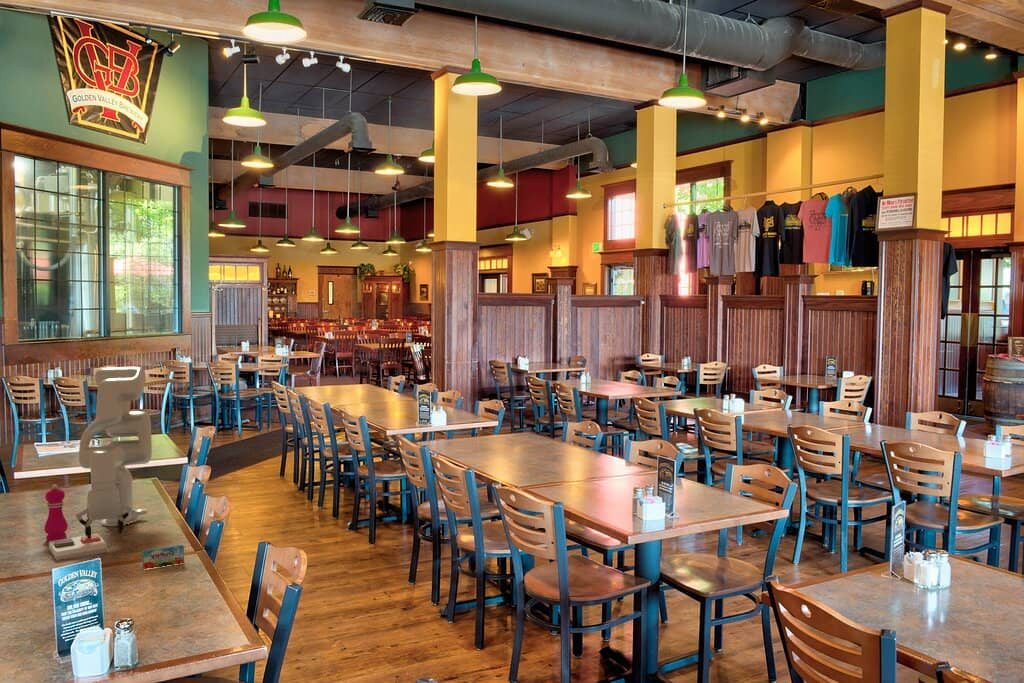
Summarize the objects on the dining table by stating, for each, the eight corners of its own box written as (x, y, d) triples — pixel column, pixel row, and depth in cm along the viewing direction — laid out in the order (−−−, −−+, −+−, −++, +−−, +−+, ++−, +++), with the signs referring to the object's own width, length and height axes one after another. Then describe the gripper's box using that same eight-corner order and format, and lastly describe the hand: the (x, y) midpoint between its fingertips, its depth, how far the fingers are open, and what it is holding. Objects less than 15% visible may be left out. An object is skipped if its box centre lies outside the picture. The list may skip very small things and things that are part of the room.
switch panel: (97, 542, 284) (97, 533, 284) (106, 552, 272) (106, 543, 272) (49, 550, 275) (48, 541, 275) (56, 560, 263) (56, 551, 263)
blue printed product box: (143, 570, 253) (142, 551, 253) (142, 569, 254) (142, 550, 254) (184, 564, 259) (183, 545, 259) (183, 563, 260) (182, 544, 260)
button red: (97, 541, 280) (97, 534, 279) (100, 544, 276) (100, 537, 276) (81, 544, 277) (81, 536, 276) (83, 547, 273) (83, 540, 272)
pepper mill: (57, 543, 283) (55, 486, 282) (39, 542, 285) (38, 486, 284) (72, 537, 290) (71, 482, 289) (55, 536, 292) (53, 481, 291)
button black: (71, 545, 275) (71, 538, 275) (74, 548, 271) (73, 541, 271) (54, 548, 272) (54, 540, 272) (57, 551, 268) (56, 544, 268)
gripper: (127, 480, 286) (129, 528, 287) (73, 487, 276) (74, 537, 276) (132, 484, 280) (134, 533, 281) (77, 491, 270) (78, 542, 270)
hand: (104, 535), depth 279 cm, fingers open, 9 cm apart
